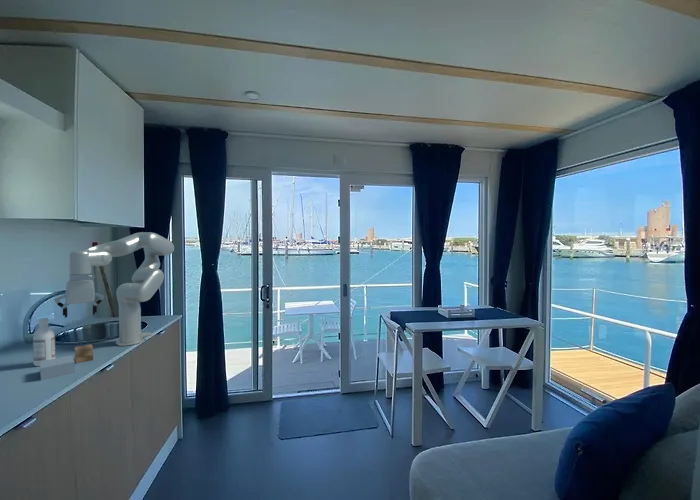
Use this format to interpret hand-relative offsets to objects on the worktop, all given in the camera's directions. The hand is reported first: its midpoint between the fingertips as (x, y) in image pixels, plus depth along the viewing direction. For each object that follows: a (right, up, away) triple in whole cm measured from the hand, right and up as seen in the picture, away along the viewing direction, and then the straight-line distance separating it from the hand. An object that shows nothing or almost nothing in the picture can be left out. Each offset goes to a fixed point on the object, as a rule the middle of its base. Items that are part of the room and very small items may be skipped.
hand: (80, 315), depth 145 cm
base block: (+2, -21, -14) cm, 25 cm away
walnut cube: (+1, -20, 0) cm, 20 cm away
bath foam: (-12, -21, -4) cm, 24 cm away
